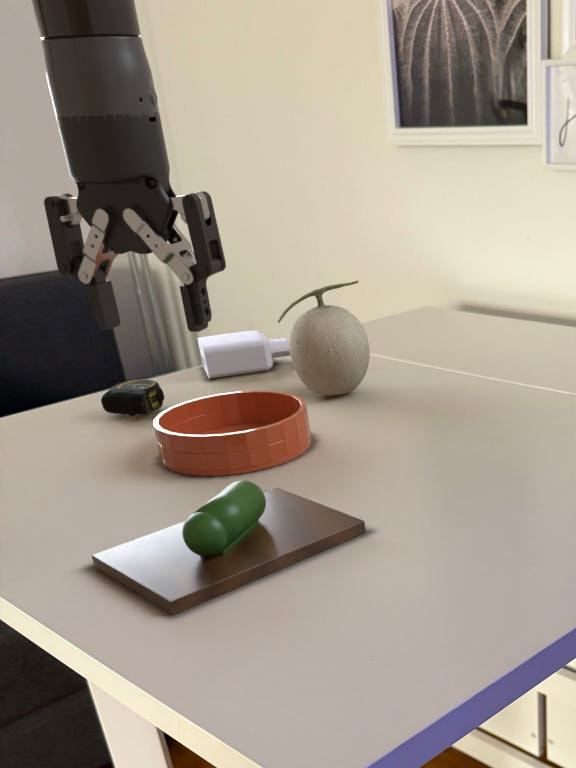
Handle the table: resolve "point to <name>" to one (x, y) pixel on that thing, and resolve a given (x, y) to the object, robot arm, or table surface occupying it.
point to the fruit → (328, 346)
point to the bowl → (233, 432)
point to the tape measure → (133, 398)
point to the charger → (240, 353)
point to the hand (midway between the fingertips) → (154, 328)
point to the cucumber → (224, 519)
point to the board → (227, 553)
